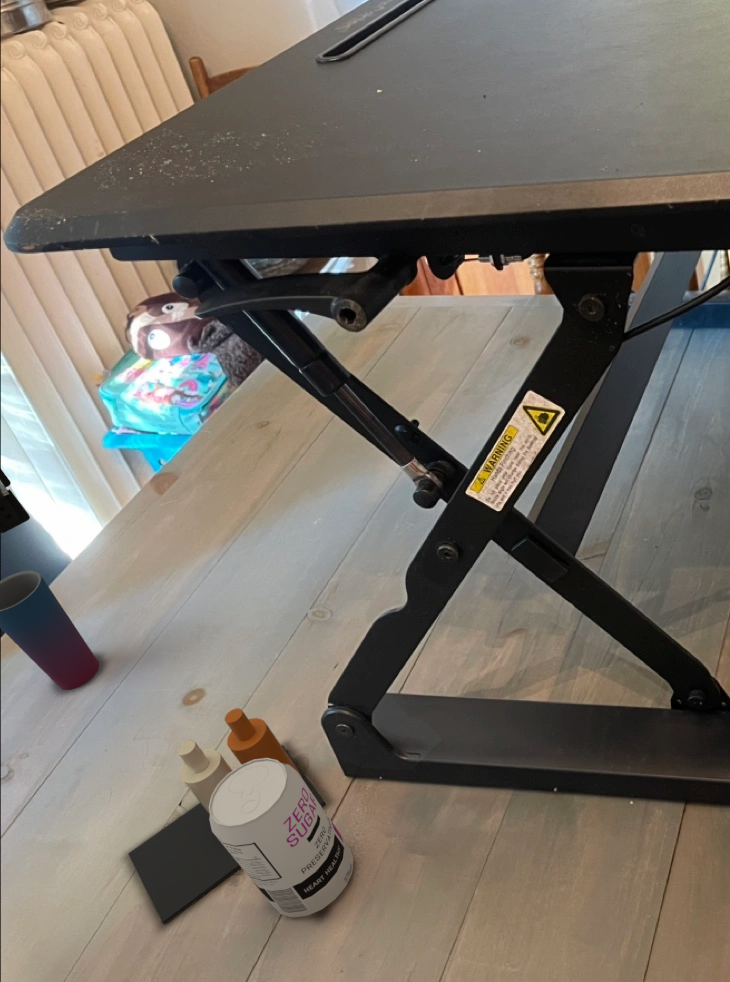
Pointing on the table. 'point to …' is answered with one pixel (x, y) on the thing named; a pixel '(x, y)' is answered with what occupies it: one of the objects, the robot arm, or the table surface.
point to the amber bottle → (253, 739)
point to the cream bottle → (202, 770)
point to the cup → (44, 630)
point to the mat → (186, 860)
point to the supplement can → (280, 836)
